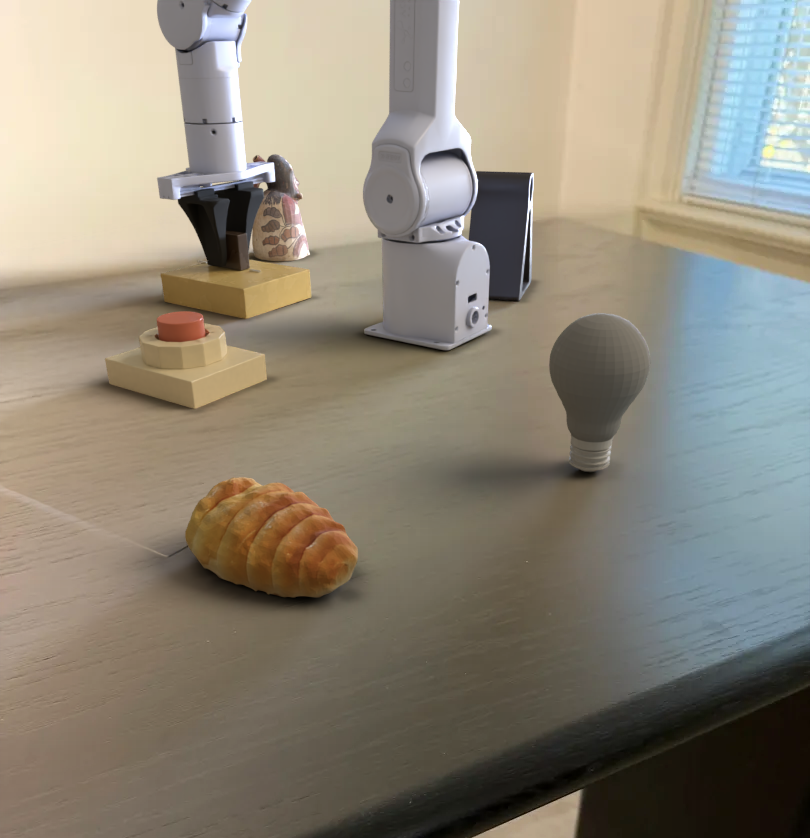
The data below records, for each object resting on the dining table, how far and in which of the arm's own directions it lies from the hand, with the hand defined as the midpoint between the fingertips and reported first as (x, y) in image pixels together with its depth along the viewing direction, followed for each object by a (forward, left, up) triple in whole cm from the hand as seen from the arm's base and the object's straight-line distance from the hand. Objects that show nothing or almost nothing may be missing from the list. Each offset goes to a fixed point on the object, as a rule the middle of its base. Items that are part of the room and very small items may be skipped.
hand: (228, 262), depth 95 cm
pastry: (-42, +39, -4) cm, 57 cm away
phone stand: (-23, -18, -4) cm, 29 cm away
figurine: (+9, -18, -4) cm, 20 cm away
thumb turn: (0, 0, 0) cm, 0 cm away
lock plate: (-2, +1, -3) cm, 4 cm away
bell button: (-17, +22, 0) cm, 28 cm away
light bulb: (-51, +19, -4) cm, 55 cm away
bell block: (-17, +22, -3) cm, 28 cm away
